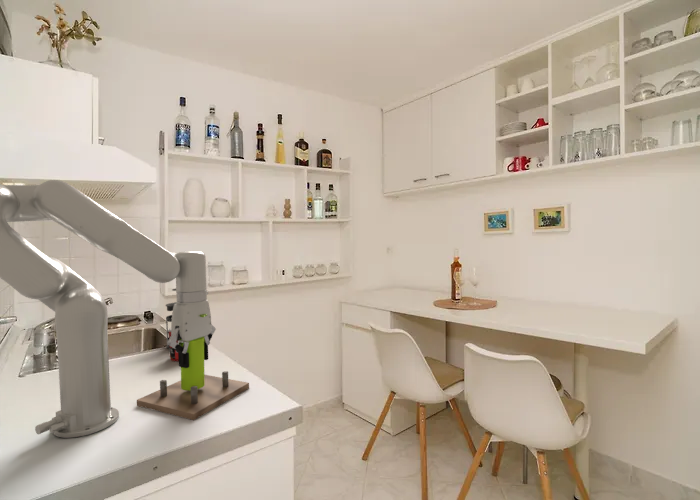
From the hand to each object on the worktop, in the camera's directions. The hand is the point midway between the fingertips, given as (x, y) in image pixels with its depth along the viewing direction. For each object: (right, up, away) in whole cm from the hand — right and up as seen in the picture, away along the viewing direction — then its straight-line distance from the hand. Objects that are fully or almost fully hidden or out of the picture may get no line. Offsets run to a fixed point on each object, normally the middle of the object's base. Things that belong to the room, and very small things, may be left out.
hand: (193, 362), depth 101 cm
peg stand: (0, -9, 0) cm, 9 cm away
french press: (-26, -8, +49) cm, 56 cm away
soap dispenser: (0, -7, 0) cm, 7 cm away
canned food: (-18, -9, +33) cm, 38 cm away
